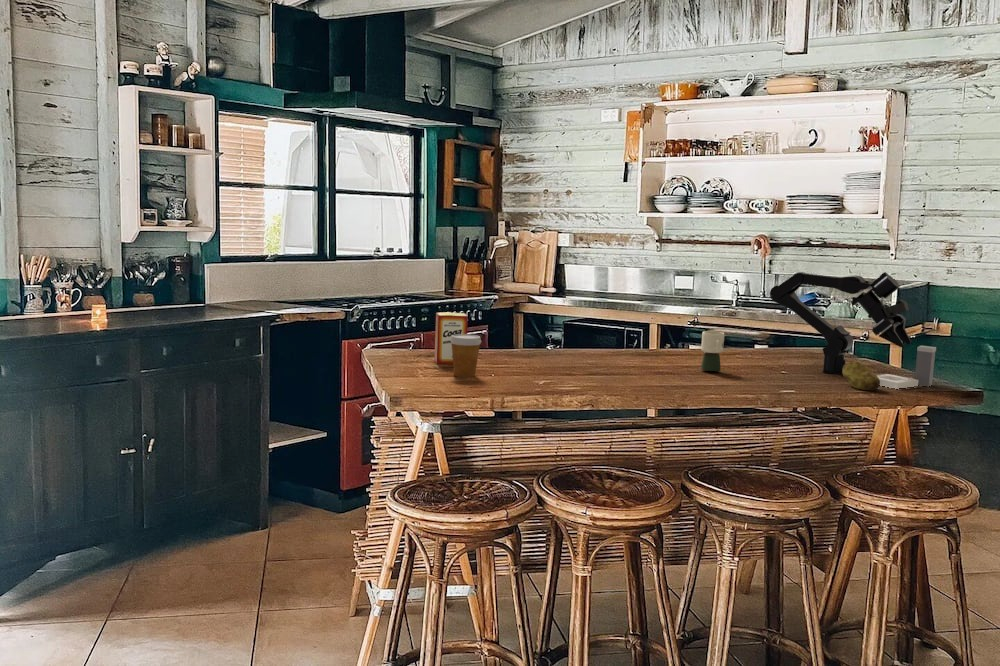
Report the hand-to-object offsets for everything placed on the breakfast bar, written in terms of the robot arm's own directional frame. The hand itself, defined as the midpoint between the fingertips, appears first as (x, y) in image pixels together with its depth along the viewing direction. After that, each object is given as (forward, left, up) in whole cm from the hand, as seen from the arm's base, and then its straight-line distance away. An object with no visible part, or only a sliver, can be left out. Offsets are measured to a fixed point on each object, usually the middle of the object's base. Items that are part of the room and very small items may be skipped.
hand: (906, 345), depth 316 cm
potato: (-12, -19, -12) cm, 26 cm away
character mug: (-58, -20, -12) cm, 63 cm away
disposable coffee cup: (-121, -75, -12) cm, 143 cm away
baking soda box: (-135, -57, -12) cm, 147 cm away
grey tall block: (+6, -1, -12) cm, 14 cm away
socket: (-3, -7, -12) cm, 15 cm away
